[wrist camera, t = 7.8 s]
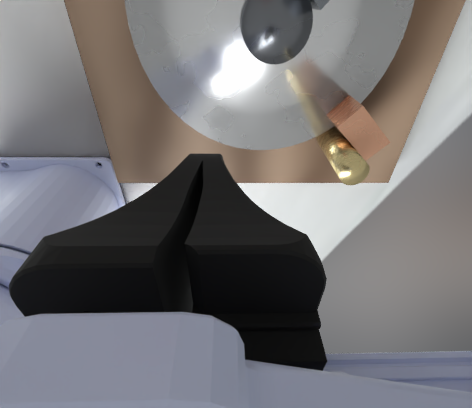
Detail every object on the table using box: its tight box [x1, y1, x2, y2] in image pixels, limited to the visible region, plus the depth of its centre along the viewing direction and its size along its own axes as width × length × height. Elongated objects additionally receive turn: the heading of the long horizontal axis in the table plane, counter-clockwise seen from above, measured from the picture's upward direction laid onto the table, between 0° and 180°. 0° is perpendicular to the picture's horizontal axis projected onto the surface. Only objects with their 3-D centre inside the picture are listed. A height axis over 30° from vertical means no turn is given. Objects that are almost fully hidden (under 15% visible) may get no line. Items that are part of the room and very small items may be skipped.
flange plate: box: [125, 0, 415, 161], centre depth 13 cm, size 16×16×4 cm
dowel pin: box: [316, 126, 370, 185], centre depth 17 cm, size 2×2×5 cm
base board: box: [64, 0, 466, 183], centre depth 15 cm, size 21×21×2 cm
